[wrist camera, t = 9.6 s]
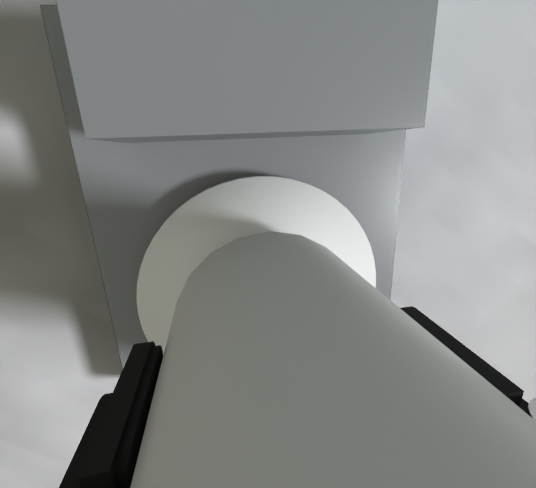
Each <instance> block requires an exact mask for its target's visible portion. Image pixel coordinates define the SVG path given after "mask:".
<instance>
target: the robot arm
mask: <svg viewBox="0 0 536 488" xmlns="http://www.w3.org/2000/svg"><path fill="white" fill-rule="evenodd" d="M400 309H401V310H403V311H404V312H405V313H406V314H407V315H409V316H410V317H411V318H412V319H413V320H415V321H416V322H417V323H418V324H419V325H421V326H422V327H423V328H424V329H425V330H427V331H428V332H429V333H430V334H432V335H433V336H434V337H435V338H436V339H438V340H439V341H440V342H441V343H442V344H444V345H445V346H446V347H447V348H448V349H450V350H451V351H452V352H453V353H454V354H456V355H457V356H458V357H459V358H460V359H462V360H463V361H464V362H465V363H466V364H468V365H469V366H470V367H471V368H473V369H474V370H475V371H476V372H477V373H479V374H480V375H481V376H482V377H483V378H485V379H486V380H487V381H488V382H489V383H491V384H492V385H493V386H494V387H495V388H497V389H498V390H499V391H500V392H501V393H503V394H504V395H505V396H506V397H507V398H509V399H510V400H511V401H512V402H514V403H515V404H516V405H517V406H518V407H520V408H521V409H522V410H523V411H524V412H526V413H527V414H528V415H529V416H530V417H532V418H533V419H534V420H535V421H536V398H534V399H532V400H531V401H530V402H529V403H527V402H526V401H525V400H524V399H522V396H523V392H524V391H523V390H522V389H520V388H519V387H518V386H516V385H515V384H514V383H513V382H511V381H510V380H509V379H507V378H506V377H505V376H503V375H502V374H501V373H500V372H498V371H497V370H496V369H494V368H493V367H492V366H490V365H489V364H488V363H486V362H485V361H484V360H483V359H481V358H480V357H479V356H477V355H476V354H475V353H473V352H472V351H471V350H470V349H468V348H467V347H466V346H464V345H463V344H462V343H460V342H459V341H458V340H456V339H455V338H454V337H453V336H451V335H450V334H449V333H447V332H446V331H445V330H443V329H442V328H441V327H440V326H438V325H437V324H436V323H434V322H433V321H432V320H430V319H429V318H428V317H426V316H425V315H424V314H423V313H421V312H420V311H419V310H417V309H416V308H414V307H404V308H400ZM162 359H163V351H162V347H161V345H158V346H155V343H154V342H153V341H151V342H144V343H137V344H134V345H133V347H132V349H131V351H130V354H129V356H128V359H127V361H126V363H125V366H124V368H123V370H122V373H121V375H120V378H119V380H118V382H117V385H116V387H115V389H114V392H113V393H110V394H104V395H103V396H102V397H101V399H100V400H99V402H98V405H97V407H96V409H95V411H94V413H93V415H92V417H91V420H90V422H89V424H88V426H87V428H86V430H85V433H84V435H83V437H82V439H81V441H80V443H79V446H78V448H77V450H76V452H75V454H74V456H73V459H72V461H71V463H70V465H69V467H68V469H67V471H66V474H65V476H64V478H63V480H62V482H61V484H60V487H59V488H130V486H131V482H132V478H133V474H134V470H135V467H136V463H137V459H138V455H139V451H140V447H141V443H142V439H143V435H144V431H145V427H146V423H147V419H148V415H149V411H150V407H151V403H152V399H153V395H154V391H155V387H156V383H157V379H158V375H159V371H160V367H161V363H162Z"/></svg>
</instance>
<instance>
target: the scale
mask: <svg viewBox="0 0 536 488" xmlns="http://www.w3.org/2000/svg"><path fill="white" fill-rule="evenodd" d="M56 1H57V5H40V7H41V12H42V16H43V21H44V25H45V29H46V34H47V38H48V43H49V47H50V51H51V56H52V60H53V65H54V69H55V73H56V78H57V82H58V86H59V91H60V95H61V100H62V104H63V108H64V113H65V117H66V122H67V126H68V130H69V135H70V139H71V144H72V148H73V152H74V157H75V161H76V165H77V170H78V174H79V179H80V183H81V187H82V192H83V196H84V201H85V205H86V209H87V214H88V218H89V223H90V227H91V231H92V236H93V240H94V245H95V249H96V253H97V258H98V262H99V266H100V271H101V275H102V280H103V284H104V288H105V293H106V297H107V302H108V306H109V310H110V315H111V319H112V324H113V328H114V332H115V337H116V341H117V345H118V350H119V354H120V359H121V363H122V367H123V368H124V366H125V363H126V361H127V359H128V356H129V354H130V351H131V349H132V347H133V345H134V344H137V343H144V342H151V341H153V342H154V343H155V346H158V345H161V347H162V351H163V355H164V351H165V347H166V343H167V339H168V335H169V331H170V327H171V323H172V319H173V315H174V311H175V307H176V303H177V300H178V298H179V296H180V294H181V292H182V290H183V287H184V285H185V283H186V281H187V279H188V277H189V275H190V274H191V273H192V272H193V271H194V270H195V269H196V268H197V267H198V266H199V265H200V263H201V262H202V261H203V260H204V259H205V258H206V257H207V256H208V255H209V254H210V253H211V252H213V251H215V250H217V249H219V248H220V247H222V246H224V245H226V244H228V243H230V242H232V241H234V240H235V239H237V238H239V237H243V236H249V235H254V234H259V233H264V232H270V231H273V232H281V233H289V234H297V235H302V236H304V237H306V238H308V239H310V240H312V241H315V242H317V243H319V244H321V245H323V246H325V247H327V248H328V249H329V250H330V251H331V252H333V253H334V254H335V255H336V256H337V257H339V258H340V259H341V260H342V261H344V262H345V263H346V264H347V265H348V266H350V267H351V268H352V269H353V270H354V271H356V272H357V273H358V274H359V275H360V276H362V277H363V278H364V279H365V280H366V281H368V282H369V283H370V284H371V285H372V286H374V287H375V288H376V289H377V290H378V291H380V292H381V293H382V294H383V295H385V296H386V297H387V298H388V299H389V300H390V298H391V287H392V276H393V265H394V255H395V244H396V233H397V222H398V211H399V200H400V189H401V178H402V168H403V157H404V146H405V135H406V129H412V128H421V127H424V126H425V116H426V107H427V98H428V89H429V80H430V71H431V61H432V52H433V43H434V34H435V25H436V16H437V6H438V0H56Z"/></svg>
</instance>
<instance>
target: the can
mask: <svg viewBox="0 0 536 488" xmlns="http://www.w3.org/2000/svg"><path fill="white" fill-rule="evenodd" d="M130 488H536V421H535V420H534V419H533V418H532V417H530V416H529V415H528V414H527V413H526V412H524V411H523V410H522V409H521V408H520V407H518V406H517V405H516V404H515V403H514V402H512V401H511V400H510V399H509V398H507V397H506V396H505V395H504V394H503V393H501V392H500V391H499V390H498V389H497V388H495V387H494V386H493V385H492V384H491V383H489V382H488V381H487V380H486V379H485V378H483V377H482V376H481V375H480V374H479V373H477V372H476V371H475V370H474V369H473V368H471V367H470V366H469V365H468V364H466V363H465V362H464V361H463V360H462V359H460V358H459V357H458V356H457V355H456V354H454V353H453V352H452V351H451V350H450V349H448V348H447V347H446V346H445V345H444V344H442V343H441V342H440V341H439V340H438V339H436V338H435V337H434V336H433V335H432V334H430V333H429V332H428V331H427V330H425V329H424V328H423V327H422V326H421V325H419V324H418V323H417V322H416V321H415V320H413V319H412V318H411V317H410V316H409V315H407V314H406V313H405V312H404V311H403V310H401V309H400V308H399V307H398V306H397V305H395V304H394V303H393V302H392V301H391V300H389V299H388V298H387V297H386V296H385V295H383V294H382V293H381V292H380V291H378V290H377V289H376V288H375V287H374V286H372V285H371V284H370V283H369V282H368V281H366V280H365V279H364V278H363V277H362V276H360V275H359V274H358V273H357V272H356V271H354V270H353V269H352V268H351V267H350V266H348V265H347V264H346V263H345V262H344V261H342V260H341V259H340V258H339V257H337V256H336V255H335V254H334V253H333V252H331V251H330V250H329V249H328V248H327V247H325V246H323V245H321V244H319V243H317V242H315V241H312V240H310V239H308V238H306V237H304V236H302V235H297V234H289V233H281V232H273V231H270V232H264V233H259V234H254V235H249V236H243V237H239V238H237V239H235V240H234V241H232V242H230V243H228V244H226V245H224V246H222V247H220V248H219V249H217V250H215V251H213V252H211V253H210V254H209V255H208V256H207V257H206V258H205V259H204V260H203V261H202V262H201V263H200V265H199V266H198V267H197V268H196V269H195V270H194V271H193V272H192V273H191V274H190V275H189V277H188V279H187V281H186V283H185V285H184V287H183V290H182V292H181V294H180V296H179V298H178V300H177V303H176V307H175V311H174V315H173V319H172V323H171V327H170V331H169V335H168V339H167V343H166V347H165V351H164V355H163V359H162V363H161V367H160V371H159V375H158V379H157V383H156V387H155V391H154V395H153V399H152V403H151V407H150V411H149V415H148V419H147V423H146V427H145V431H144V435H143V439H142V443H141V447H140V451H139V455H138V459H137V463H136V467H135V470H134V474H133V478H132V482H131V486H130Z"/></svg>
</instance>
